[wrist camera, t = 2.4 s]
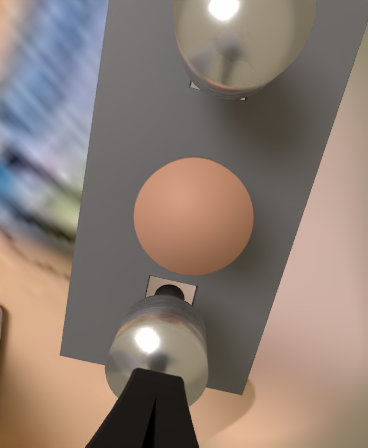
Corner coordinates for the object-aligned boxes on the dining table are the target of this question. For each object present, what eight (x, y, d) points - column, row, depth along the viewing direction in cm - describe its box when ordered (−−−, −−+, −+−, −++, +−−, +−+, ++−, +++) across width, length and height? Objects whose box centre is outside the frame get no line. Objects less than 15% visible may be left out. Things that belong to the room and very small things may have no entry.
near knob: (253, 118, 12) (290, 100, 7) (173, 100, 12) (159, 69, 7) (277, 28, 11) (336, -57, 6) (192, 7, 11) (190, -94, 6)
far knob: (195, 335, 14) (195, 423, 10) (129, 320, 14) (98, 402, 10) (211, 274, 13) (219, 340, 9) (141, 259, 13) (114, 317, 9)
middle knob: (221, 237, 13) (235, 286, 8) (149, 220, 13) (124, 261, 8) (241, 164, 12) (268, 174, 8) (164, 146, 12) (146, 146, 8)
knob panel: (234, 353, 17) (241, 395, 14) (82, 320, 17) (59, 355, 14) (343, 5, 13) (386, -36, 10) (139, -45, 13) (122, -102, 10)
